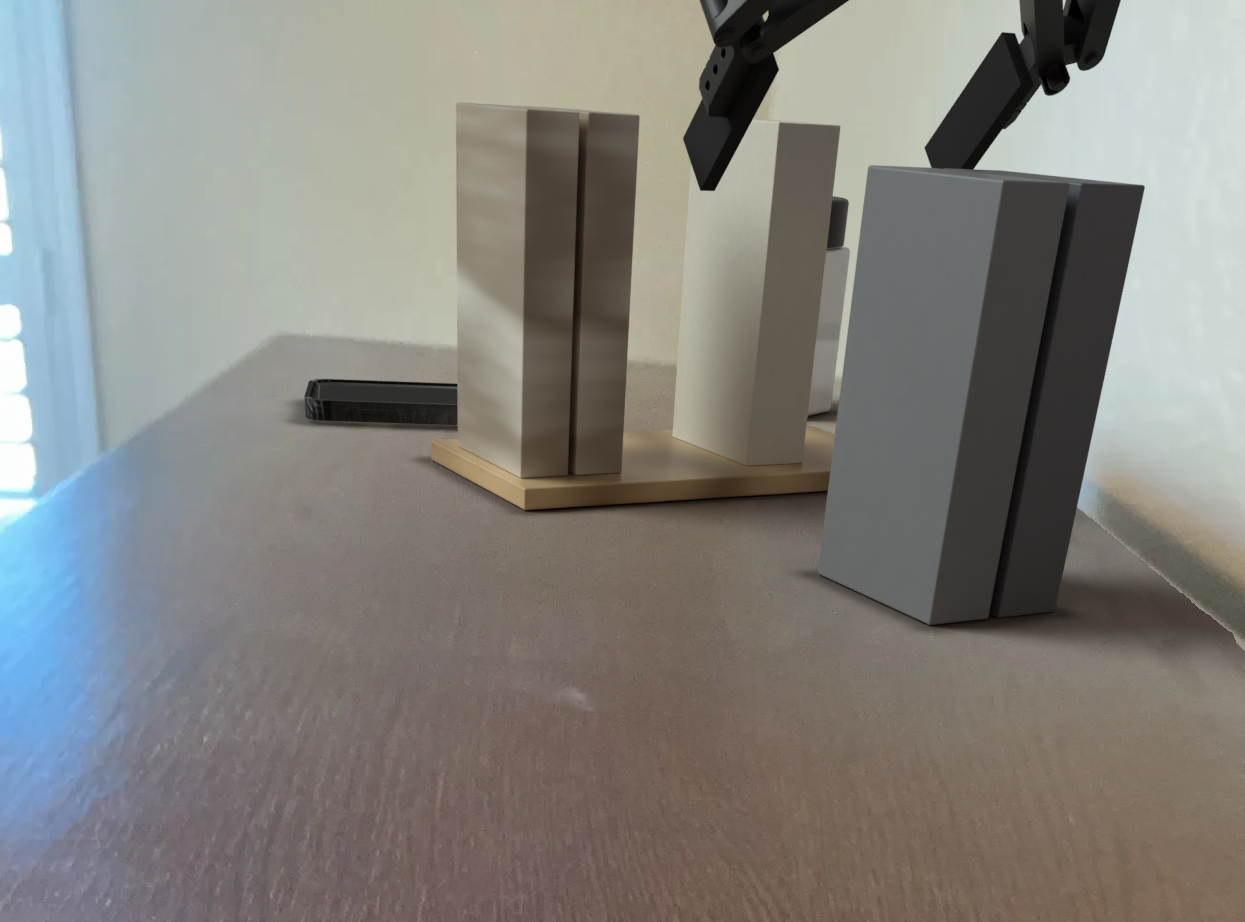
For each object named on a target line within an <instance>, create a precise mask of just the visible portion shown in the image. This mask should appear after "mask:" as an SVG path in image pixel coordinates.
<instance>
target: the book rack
mask: <svg viewBox="0 0 1245 922" xmlns="http://www.w3.org/2000/svg"><path fill="white" fill-rule="evenodd" d="M640 118H641V117H640V114H635V113H625V112H614V111H613V112H611V111H601V110H589V109H576V108H567V107H566V108H564V107H552V106H551V107H549V106H532V105H531V106H529V105H510V104H509V105H508V104H496V103H495V104H492V103H474V102H473V103H472V102H456V104H455V151H456V152H455V161H456V162H455V167H456V168H455V172H456V173H455V181H456V183H455V187H456V191H455V192H456V194H455V196H456V198H455V199H456V204H455V205H456V341H457V342H456V355H457V356H456V363H457V364H456V365H457V366H456V367H457V371H456V372H457V376H456V379H457V383H456V384H457V391H458V425H457V438H452V439H451V438H449V439H432V440H431V441H430V458H431V460H432V461H433V462H435V463H437V464H438V465H441V466H443V467H444V468H446V469H448V470H450V471H452V472H454V473H455V474H457V475H459V476H461V477H462V478H464V479H467V480H468V481H470V482H472V483H474V484H475V485H478V486H479V487H481V488H483V489H484V490H486V491H489V492H490V493H493V494H494V495H496V496H498V497H500V498H501V499H503V500H506V501H507V502H509V503H511V504H513V505H514V506H517V507H518V508H520V509H522V510H524V511H536V510H551V509H565V508H567V509H568V508H583V507H599V506H610V505H611V506H613V505H615V506H616V505H630V504H643V503H644V504H646V503H660V502H661V503H663V502H675V501H676V502H677V501H678V502H679V501H692V500H693V501H694V500H707V499H709V500H710V499H720V498H721V499H722V498H724V499H725V498H736V497H737V498H739V497H740V498H741V497H752V496H753V497H757V496H768V495H769V496H771V495H787V494H801V493H816V492H828V487H829V479H830V471H831V463H832V455H833V446H834V438H835V433H832V432H830V431H827V430H823V429H820V428H818V427H815V426H812V425H810V424H807V425H806V434H805V443H804V452H803V461H802V463H797V464H779V465H761V466H745V465H743V464H740V463H738V462H735V461H732V460H730V459H727V458H725V457H722V456H720V455H717V454H715V453H712V452H710V451H707V450H705V449H702V448H699V447H697V446H694V445H692V444H689V443H687V442H684V441H682V440H679V439H677V438H674V437H672V433H673V429H664V430H663V429H660V430H641V431H640V430H639V431H638V430H637V431H624V429H625V428H624V427H625V412H626V411H625V410H626V390H627V371H628V370H627V369H628V352H629V351H628V350H629V331H630V313H631V312H630V311H631V295H632V293H631V292H632V274H633V256H634V255H633V254H634V253H633V252H634V238H635V237H634V235H635V234H634V232H635V231H634V230H635V216H636V215H635V214H636V198H637V197H636V195H637V176H638V158H639V157H638V156H639V155H638V154H639V138H640V137H639V136H640V120H641V119H640Z"/></svg>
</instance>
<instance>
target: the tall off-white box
mask: <svg viewBox="0 0 1245 922" xmlns="http://www.w3.org/2000/svg"><path fill="white" fill-rule="evenodd" d="M840 135H841V125H839V124H831V123H829V124H828V123H818V122H817V123H815V122H803V121H791V120H779V119H778V120H777V119H767V118H755V117H754V118H753V120H752V122H751V124H750V125H749V127H748V129H747V131H746V133H745V135H744V137H743V139H742V140H741V142H740V144H739V146H738V148H737V150H736V152H735V154H734V155H733V157H732V159H731V161H730V163H729V165H728V167H727V169H726V170H725V172H724V174H723V176H722V178H721V180H720V182H719V184H718V185H717V187H716V189H715V191H700V188H699V185H698V182H697V179H696V176H695V173H694V170H693V167H692V164H691V163H690V170H689V171H690V172H689V184H688V186H689V187H688V200H687V215H686V231H685V246H684V260H683V275H682V286H681V287H682V288H681V300H680V301H681V303H680V306H681V307H680V316H679V332H678V347H677V359H676V360H677V361H676V375H675V376H676V377H675V389H674V391H675V394H674V406H673V407H674V408H673V420H672V421H673V422H672V430H673V433H672V437H674V438H677V439H679V440H682V441H684V442H687V443H689V444H692V445H694V446H697V447H699V448H702V449H705V450H707V451H710V452H712V453H715V454H717V455H720V456H722V457H725V458H727V459H730V460H732V461H735V462H738V463H740V464H743V465H745V466H761V465H779V464H797V463H802V461H803V452H804V443H805V434H806V425H808V417H809V416H808V408H809V399H810V390H811V382H812V373H813V364H814V355H815V346H816V338H817V329H818V320H819V311H820V303H821V294H822V285H823V276H824V267H825V259H826V250H827V241H828V232H829V223H830V215H831V206H832V197H833V196H834V187H835V178H836V169H837V162H838V161H837V159H838V152H839V145H840V144H839V143H840Z"/></svg>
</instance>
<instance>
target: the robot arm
mask: <svg viewBox="0 0 1245 922" xmlns="http://www.w3.org/2000/svg"><path fill="white" fill-rule="evenodd" d="M849 1H850V0H699V3H700V7H701V9H702V12H703V15H704V17H705V20H706V23H707V27H708V30H709V32H710V35H711V38H712V41H713V44H714V47H713V49H712V51H711V53H710V55H709V59H708V60H707V62H706V64H705V67H704V68H703V70H702V72H701V73H700V76H699V79H698V90H699V93H700V96H701V100H700V101H699V104H698V106H697V108H696V110H695V112H694V115H693V116H692V118H691V121H690V123H689V125H688V126H687V129H686V130H685V133H684V135H683V137H682V141H683V143H684V144H683V145H684V146H685V149H686V153H687V156H688V158H689V162H690V165H691V164H692V167H693V170H694V173H695V176H696V179H697V182H698V185H699V188H700V191H715V189H716V187H717V185H718V184H719V182H720V180H721V178H722V176H723V174H724V172H725V170H726V169H727V167H728V165H729V163H730V161H731V159H732V157H733V155H734V154H735V152H736V150H737V148H738V146H739V144H740V142H741V140H742V139H743V137H744V135H745V133H746V131H747V129H748V127H749V125H750V124H751V122H752V120H753V118H754V119H755V116H756V114H757V112H758V111H759V109H760V106H761V105H762V103H763V101H764V99H765V97H766V95H767V94H768V92H769V89H770V88H771V86H772V84H773V82H774V81H775V79H776V77H777V75H778V73H779V71H780V69H779V65H778V63H777V59H776V57H775V54H774V53H776V52H777V51H779V50H780V49H781V48H783V47H785V46H786V45H787V44H789V43H790V42H792V41H793V40H795V39H796V38H797V37H799V36H800V35H802V34H803V33H804V32H806V31H808V30H809V29H810V28H812V27H813V26H815V25H816V24H818V23H819V22H820V21H822V20H823V19H825V18H826V17H828V16H829V15H831V13H833V12H835V11H836V10H837V9H839V8H840V7H842V6H843V5H845V4H846V3H847V2H849ZM1018 1H1019V14H1020V15H1019V16H1020V28H1021V30H1020V31H1021V33H1022V36H1023V38H1022V40H1021V41H1020V42H1019V41H1018V37H1017V35H1016V33H1015V32H1004V31H1002V32H1001V33H1000V34H999V36H998V37H997V39H996V40H995V42H994V43H993V45H992V46H991V48H990V49H989V51H988V52H987V54H986V55H985V56H984V57H983V60H982V61H981V63H980V64H979V66H977V69H976V70H975V71H974V73H973V75H972V76H971V77H970V79H969V81H968V82H967V83H966V85H965V86H964V87H963V89H962V91H961V93H959V95H958V97H957V99H956V100H955V102H954V103H953V104H952V106H951V107H950V109H949V110H948V112H947V113H946V115H945V116H944V118H943V119H942V121H941V122H940V123H939V125H938V126H937V128H936V129H935V131H934V132H933V134H932V136H930V139H929V140H928V142H926V144H925V146H924V151H925V153H926V156H927V159H928V162H929V165H930V168H938V169H944V168H951V169H975V168H976V167H977V165H978V164H979V162H980V161H981V160H982V158H983V157H984V156H985V154H986V153H987V151H988V150H989V149H990V147H991V146H992V144H993V143H994V142H995V140H996V139H997V138H998V136H999V135H1000V133H1001V132H1002V131H1003V130H1006V129H1008V128H1009V127H1010V126H1011V125H1012V124H1013V123H1015V122H1016V120H1017V119H1018V117H1019V116H1020V115H1021V114H1022V112H1023V110H1024V109H1025V108H1026V107H1027V105H1028V103H1029V102H1030V101H1031V99H1032V98H1033V96H1034V95H1035V94H1036V92H1037V91H1038V90H1039V89H1040V87H1042V90H1043V93H1044V95H1045V96H1048V97H1052V96H1055V95H1057V94H1059V93H1061V92H1063V91H1064V90H1065V88H1067V87H1068V85H1069V83H1071V82H1070V81H1071V77H1070V73H1069V70H1068V67H1067V66H1070V65H1072V64H1076V67H1077V68H1078V70H1079V71H1083V72H1086V71H1089V70H1092V69H1094V68H1095V67H1097V66H1098V65H1099V64H1100V63H1101V62H1102V60H1103V59H1104V57H1105V54H1106V51H1107V48H1108V44H1109V41H1110V38H1111V34H1112V32H1113V31H1112V30H1113V28H1114V24H1115V21H1116V19H1117V18H1116V17H1117V14H1118V11H1119V8H1120V5H1121V2H1122V0H1065V2H1064V0H1018ZM767 12H768V15H767V17H766V20H765V18H764V15H765V14H766V13H767Z"/></svg>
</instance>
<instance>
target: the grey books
mask: <svg viewBox="0 0 1245 922" xmlns="http://www.w3.org/2000/svg"><path fill="white" fill-rule="evenodd" d="M865 181H866V182H865V190H864V197H863V206H862V214H861V222H860V229H859V237H858V246H857V252H856V253H857V254H856V260H855V261H856V262H855V270H854V279H853V286H852V294H851V301H850V302H851V303H850V311H849V317H848V327H847V333H846V343H845V351H844V359H843V365H842V375H841V381H840V392H839V399H838V406H837V415H836V423H835V432H834V434H835V438H834V446H833V455H832V463H831V471H830V479H829V487H828V491H827V496H826V503H825V512H824V519H823V528H822V534H821V535H822V536H821V543H820V544H821V545H820V552H819V562H818V569H817V574H818V575H820V576H822V577H824V578H827V579H828V580H830V581H833V582H835V583H836V584H840V585H842V586H844V587H846V588H848V589H849V590H853V591H854V592H857V593H859V594H861V595H863V596H865V597H867V598H870V599H871V600H874V601H876V602H878V603H881V604H883V605H885V606H887V607H889V608H891V609H893V610H896V611H897V612H900V613H902V614H904V615H907V616H909V617H911V618H913V619H916V620H917V621H920V622H922V623H924V624H925V625H929V626H935V625H944V624H954V623H962V622H971V621H980V620H987V619H988V618H989V616H990V615H992V616H994V617H996V618H998V619H1001V618H1009V617H1019V616H1027V615H1037V614H1046V613H1053V612H1055V611H1056V607H1057V604H1058V599H1059V593H1060V588H1061V585H1062V579H1063V574H1064V570H1065V565H1066V561H1067V556H1068V551H1069V546H1070V543H1071V542H1070V541H1071V537H1072V533H1073V527H1074V523H1075V518H1076V515H1077V514H1076V513H1077V509H1078V505H1079V499H1080V495H1081V490H1082V485H1083V480H1084V476H1085V471H1086V467H1087V462H1088V458H1089V452H1090V447H1091V444H1092V438H1093V434H1094V428H1095V425H1096V419H1097V414H1098V410H1099V405H1100V400H1101V397H1102V396H1101V395H1102V392H1103V386H1104V381H1105V377H1106V372H1107V367H1108V363H1109V359H1110V352H1111V349H1112V343H1113V339H1114V335H1115V330H1116V326H1117V322H1118V321H1117V320H1118V316H1119V311H1120V306H1121V302H1122V298H1123V292H1124V288H1125V283H1126V278H1127V275H1128V274H1127V273H1128V270H1129V269H1128V268H1129V264H1130V259H1131V255H1132V249H1133V245H1134V242H1135V241H1134V240H1135V236H1136V232H1137V227H1138V223H1139V222H1138V221H1139V217H1140V213H1141V212H1140V211H1141V208H1142V203H1143V199H1144V193H1145V188H1146V187H1145V185H1144V184H1136V183H1128V182H1127V183H1125V182H1116V181H1106V180H1097V179H1096V180H1095V179H1087V178H1078V177H1068V176H1058V175H1048V174H1039V173H1028V172H1019V171H1010V170H996V169H975V168H974V169H951V168H944V169H938V168H931V167H927V166H926V167H925V166H924V167H923V166H921V167H920V166H902V165H901V166H897V165H873V164H871V165H868V167H867V173H866V180H865Z"/></svg>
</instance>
